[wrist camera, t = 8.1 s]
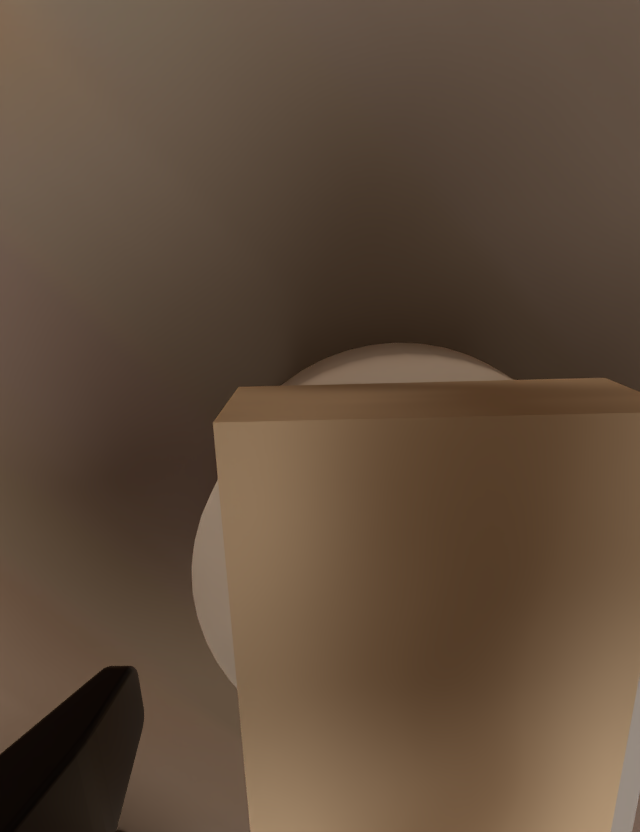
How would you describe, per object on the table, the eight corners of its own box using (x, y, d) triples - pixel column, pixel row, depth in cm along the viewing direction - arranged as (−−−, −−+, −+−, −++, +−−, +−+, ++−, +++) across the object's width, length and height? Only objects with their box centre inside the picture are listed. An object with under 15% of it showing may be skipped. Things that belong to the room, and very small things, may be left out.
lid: (266, 757, 11) (253, 866, 9) (238, 387, 8) (212, 423, 6) (554, 754, 11) (604, 862, 9) (604, 378, 8) (688, 411, 6)
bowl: (244, 620, 15) (211, 767, 11) (220, 339, 13) (165, 377, 8) (528, 615, 15) (613, 761, 11) (557, 328, 13) (681, 362, 8)
